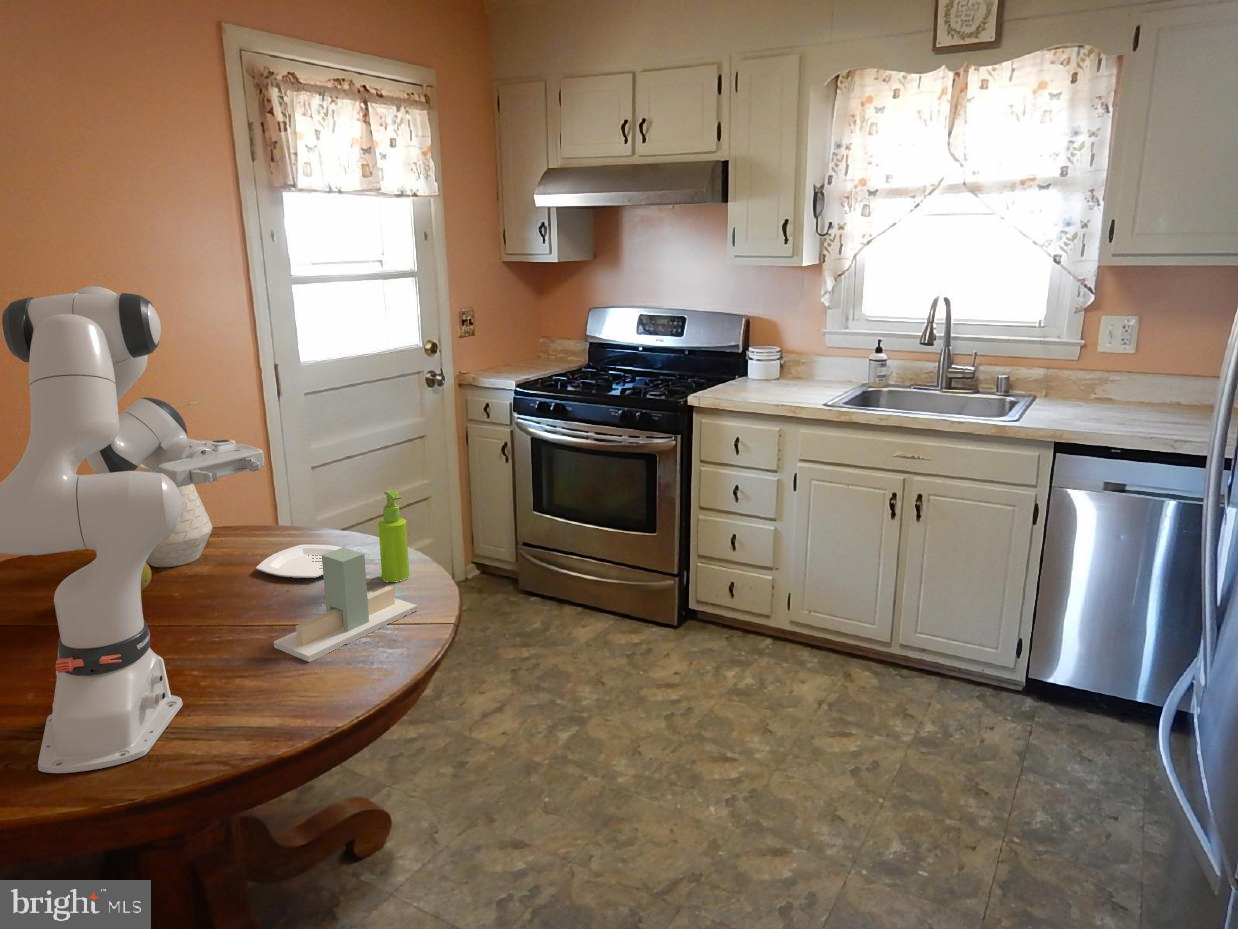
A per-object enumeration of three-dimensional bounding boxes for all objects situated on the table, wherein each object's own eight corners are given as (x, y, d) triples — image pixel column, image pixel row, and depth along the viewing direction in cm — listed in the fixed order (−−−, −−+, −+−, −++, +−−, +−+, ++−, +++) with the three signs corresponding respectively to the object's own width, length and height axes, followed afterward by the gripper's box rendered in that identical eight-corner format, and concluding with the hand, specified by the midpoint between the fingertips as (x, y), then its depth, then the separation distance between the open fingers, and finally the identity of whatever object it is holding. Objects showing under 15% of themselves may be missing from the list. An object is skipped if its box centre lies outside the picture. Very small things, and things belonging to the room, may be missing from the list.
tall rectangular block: (348, 631, 161) (342, 561, 157) (327, 623, 164) (321, 555, 160) (369, 621, 165) (364, 553, 161) (348, 614, 168) (343, 547, 164)
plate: (300, 548, 207) (299, 541, 207) (369, 558, 202) (368, 550, 201) (244, 577, 189) (243, 569, 189) (317, 588, 184) (317, 580, 183)
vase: (208, 569, 193) (196, 470, 187) (122, 576, 189) (107, 475, 183) (221, 543, 209) (210, 452, 203) (142, 549, 205) (129, 456, 199)
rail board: (309, 662, 152) (307, 638, 150) (274, 647, 157) (271, 624, 156) (417, 610, 173) (416, 589, 171) (383, 599, 178) (381, 578, 177)
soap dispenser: (389, 586, 184) (384, 498, 179) (377, 576, 190) (372, 490, 185) (415, 580, 188) (410, 493, 183) (403, 570, 193) (398, 486, 188)
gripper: (142, 457, 166) (183, 468, 159) (238, 437, 183) (278, 446, 175) (147, 488, 168) (187, 500, 160) (241, 466, 184) (281, 476, 177)
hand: (236, 472), depth 168 cm, fingers open, 8 cm apart
